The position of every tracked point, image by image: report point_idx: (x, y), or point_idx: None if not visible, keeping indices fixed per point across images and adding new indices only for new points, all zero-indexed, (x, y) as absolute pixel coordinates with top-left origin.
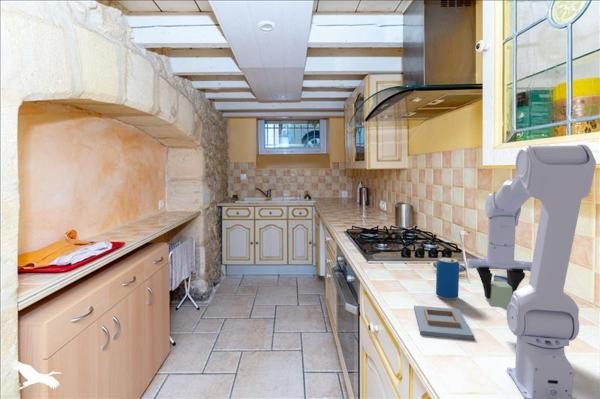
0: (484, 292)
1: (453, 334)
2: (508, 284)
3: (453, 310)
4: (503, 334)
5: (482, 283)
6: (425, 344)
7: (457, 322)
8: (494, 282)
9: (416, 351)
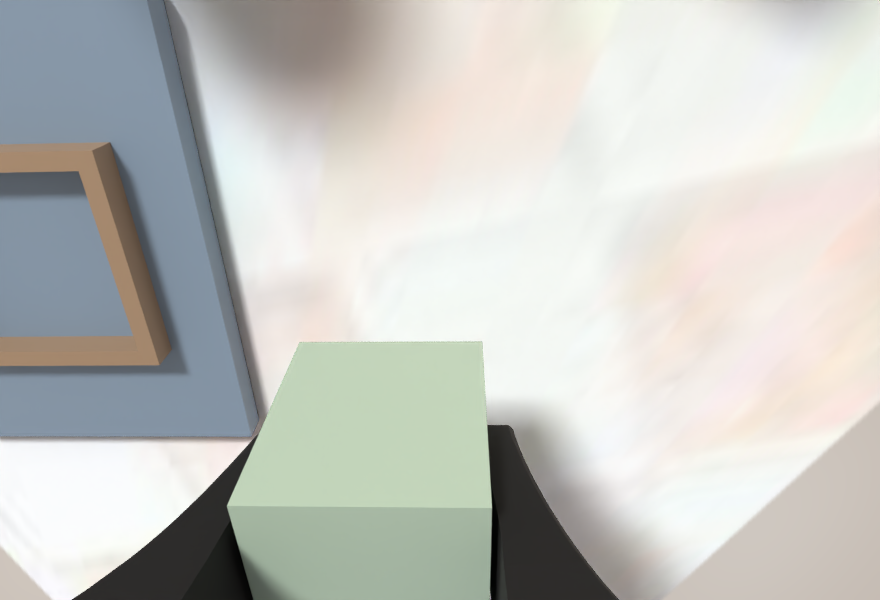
0: (249, 446)
1: (144, 432)
2: (485, 587)
3: (98, 42)
4: (440, 328)
5: (183, 518)
6: (35, 497)
7: (142, 362)
8: (324, 548)
9: (16, 549)
